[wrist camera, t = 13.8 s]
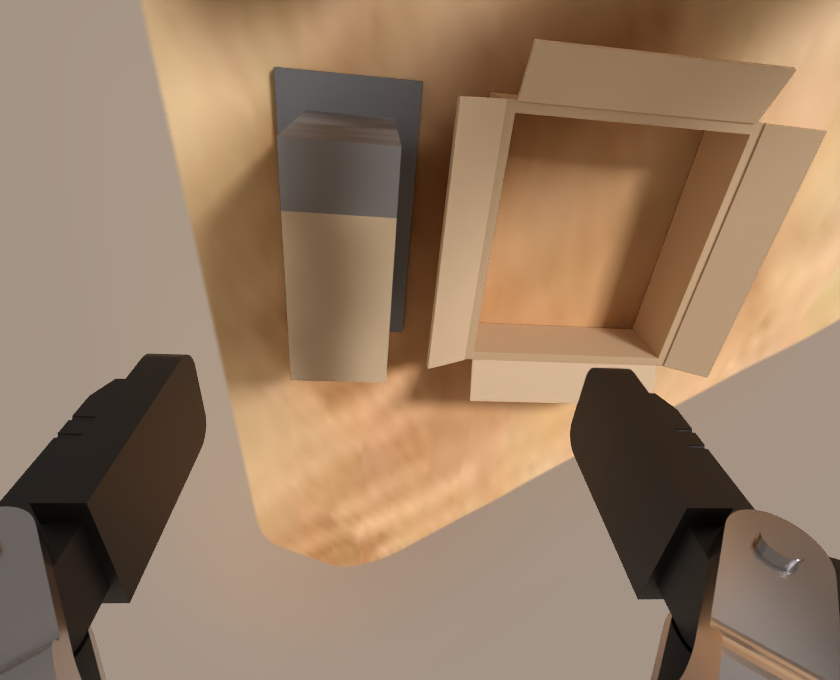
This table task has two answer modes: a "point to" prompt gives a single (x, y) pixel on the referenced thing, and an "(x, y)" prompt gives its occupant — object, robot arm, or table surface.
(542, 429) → the table surface
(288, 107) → the mat
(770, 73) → the carton
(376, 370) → the beige and gray box
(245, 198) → the table surface
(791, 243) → the table surface
